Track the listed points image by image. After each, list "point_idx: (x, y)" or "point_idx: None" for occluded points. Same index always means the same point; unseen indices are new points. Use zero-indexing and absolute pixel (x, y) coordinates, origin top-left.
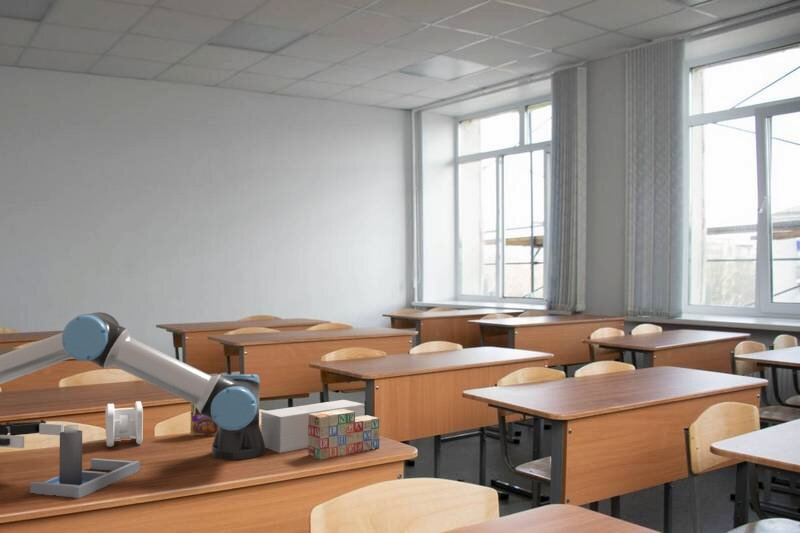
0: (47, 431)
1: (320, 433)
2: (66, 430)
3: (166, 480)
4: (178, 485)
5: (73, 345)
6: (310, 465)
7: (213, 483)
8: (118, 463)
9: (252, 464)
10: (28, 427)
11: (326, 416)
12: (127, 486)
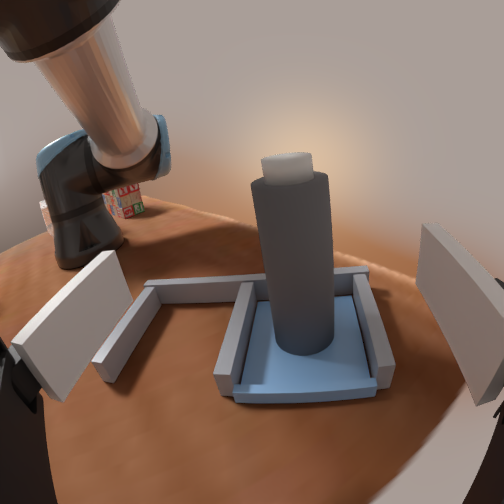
0: (82, 342)
1: (138, 184)
2: (312, 165)
3: (222, 252)
4: (248, 236)
5: None
6: (165, 208)
7: (234, 222)
8: (142, 310)
9: (149, 229)
10: (13, 429)
11: None
12: None
